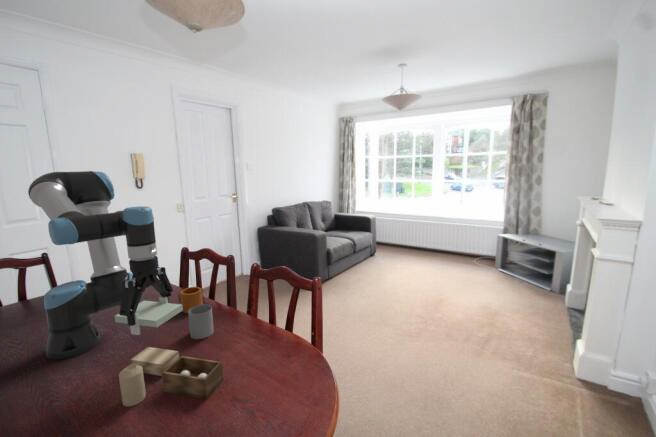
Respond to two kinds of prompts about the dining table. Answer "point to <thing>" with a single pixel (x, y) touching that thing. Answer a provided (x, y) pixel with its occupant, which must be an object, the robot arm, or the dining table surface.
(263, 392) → the dining table surface
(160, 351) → the block
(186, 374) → the ball
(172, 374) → the walnut box
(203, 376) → the ball
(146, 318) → the lid
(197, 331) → the cup
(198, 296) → the mug
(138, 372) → the candle
